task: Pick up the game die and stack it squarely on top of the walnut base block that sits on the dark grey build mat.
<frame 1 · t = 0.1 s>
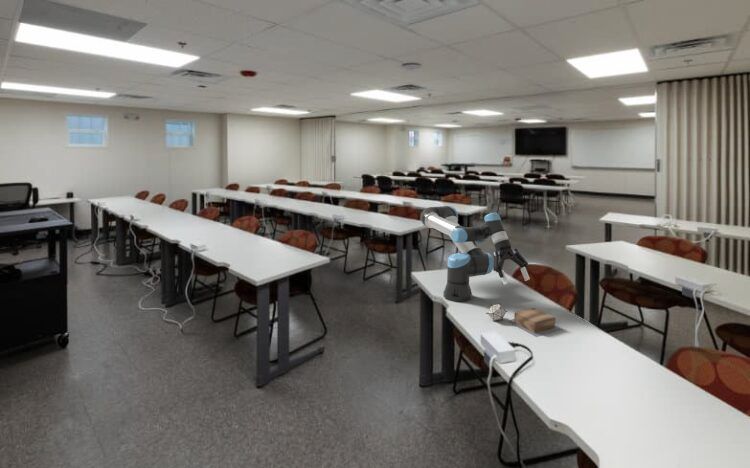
hand: (517, 281, 190), 15 cm above the table, tool tilted 35°, fingers open, 13 cm apart
base block: (533, 325, 176), resting on build mat
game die: (496, 320, 183), on the table
build mat: (533, 326, 176), on the table
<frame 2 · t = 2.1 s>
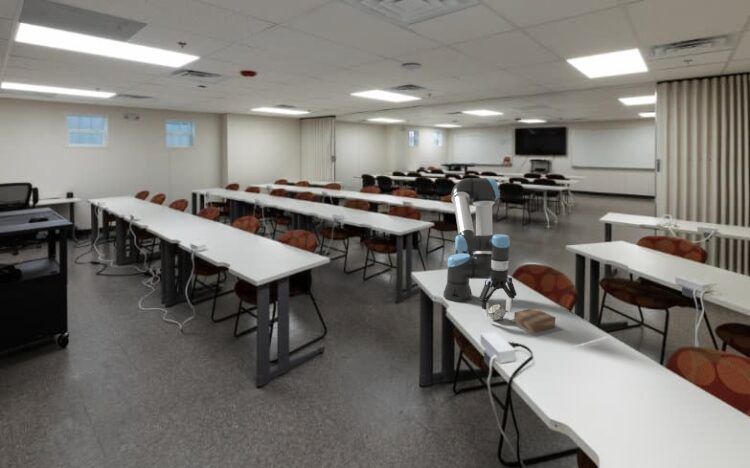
hand: (497, 313, 182), 4 cm above the table, tool pointing down, fingers open, 13 cm apart
nothing on the table moved.
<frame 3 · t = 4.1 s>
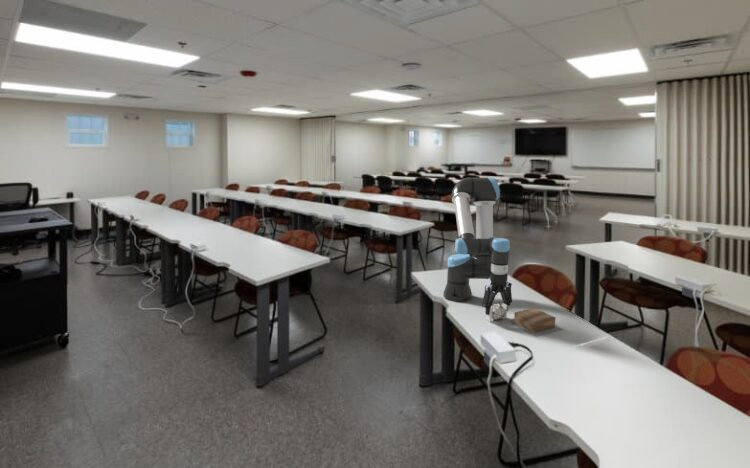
hand: (496, 319, 183), 1 cm above the table, tool pointing down, fingers closed on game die, 8 cm apart
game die: (495, 320, 183), on the table, touching gripper
everything else where it was.
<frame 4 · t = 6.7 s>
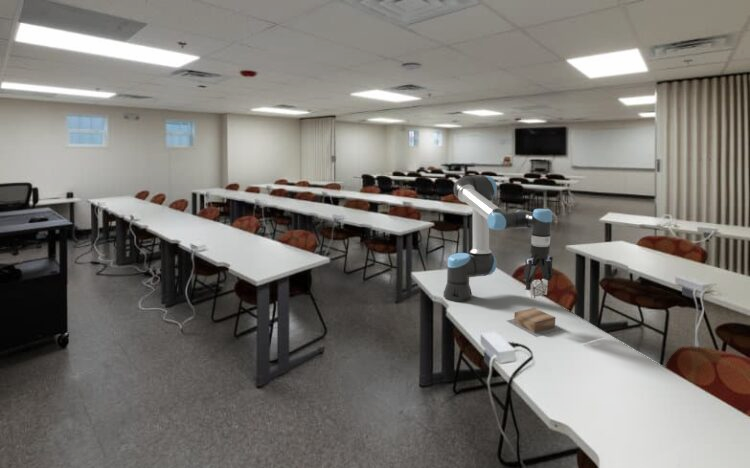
hand: (536, 295, 173), 15 cm above the table, tool pointing down, fingers closed on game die, 8 cm apart
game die: (536, 297, 174), point 14 cm above the table, touching gripper
everything else where it was.
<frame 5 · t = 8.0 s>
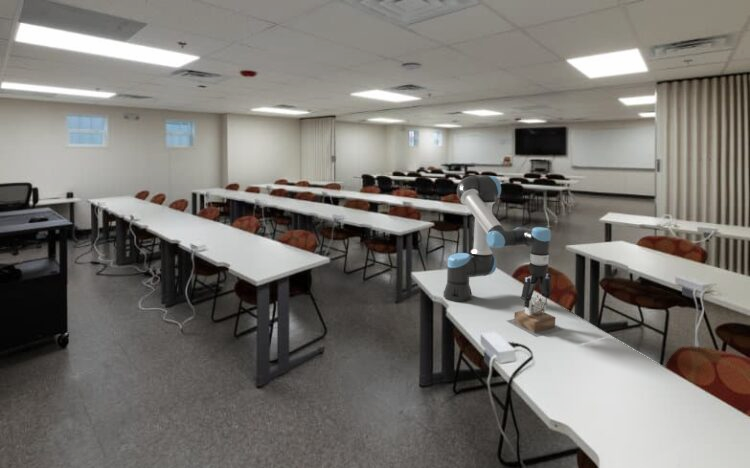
hand: (535, 312, 175), 7 cm above the table, tool pointing down, fingers closed on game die, 8 cm apart
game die: (534, 314, 175), point 6 cm above the table, touching gripper
everything else where it was.
when the fingers open (6 cm above the table, at t = 8.9 s): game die stays where it is, resting on base block.
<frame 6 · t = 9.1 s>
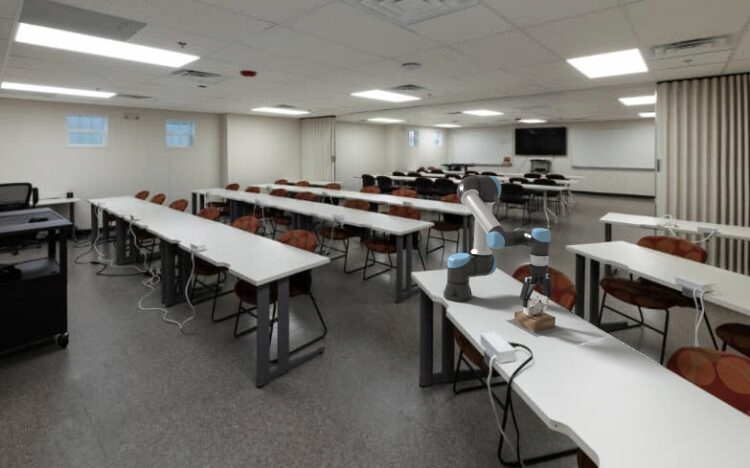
hand: (535, 312, 175), 7 cm above the table, tool pointing down, fingers open, 10 cm apart
base block: (533, 325, 176), resting on build mat, touching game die
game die: (534, 315, 175), point 5 cm above the table, touching base block
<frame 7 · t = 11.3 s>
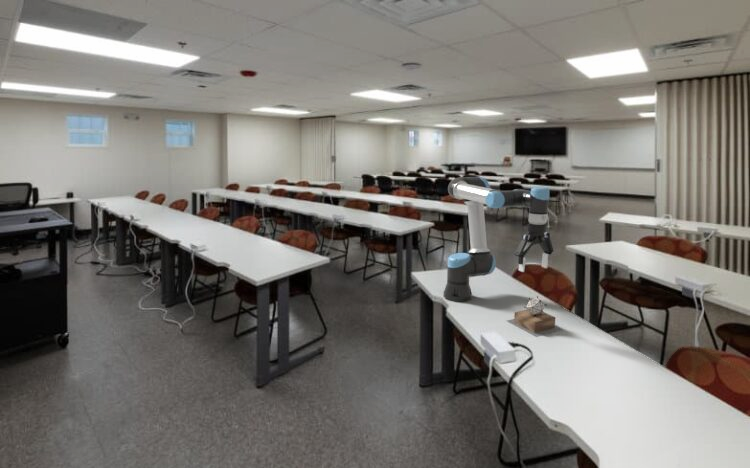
hand: (532, 269, 177), 25 cm above the table, tool pointing down, fingers open, 13 cm apart
nothing on the table moved.
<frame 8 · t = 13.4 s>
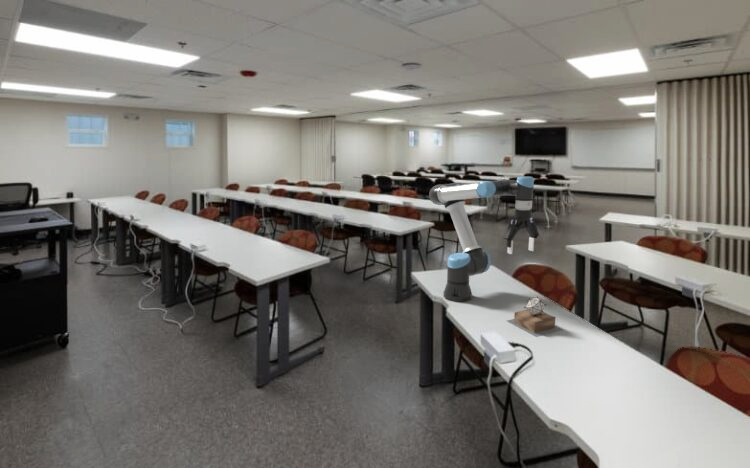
hand: (520, 252, 192), 29 cm above the table, tool pointing down, fingers open, 13 cm apart
nothing on the table moved.
at the end: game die 0.1 cm from the base block (horizontally); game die point 5.2 cm above the table; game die touching base block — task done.
